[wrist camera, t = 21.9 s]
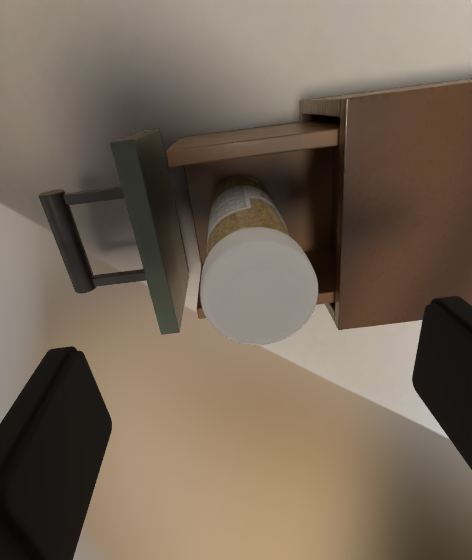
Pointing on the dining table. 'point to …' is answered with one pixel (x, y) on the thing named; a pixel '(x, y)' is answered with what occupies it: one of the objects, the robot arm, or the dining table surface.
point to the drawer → (201, 184)
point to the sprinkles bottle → (253, 267)
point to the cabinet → (401, 200)
